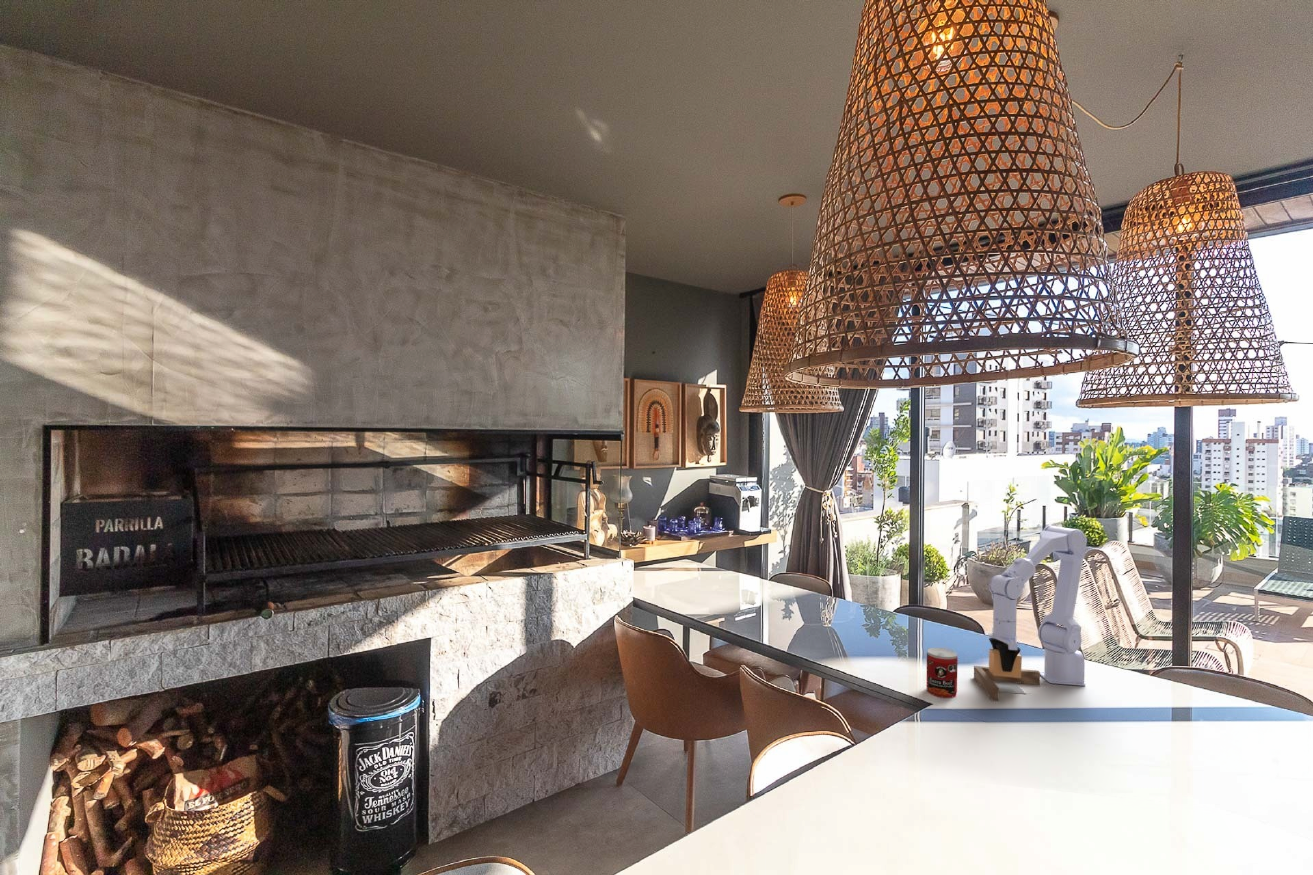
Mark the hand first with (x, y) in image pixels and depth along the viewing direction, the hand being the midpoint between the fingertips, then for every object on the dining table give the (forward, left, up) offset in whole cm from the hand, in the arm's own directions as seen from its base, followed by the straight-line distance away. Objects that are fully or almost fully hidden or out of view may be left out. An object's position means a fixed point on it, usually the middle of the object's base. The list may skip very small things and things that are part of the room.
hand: (1003, 668), depth 183 cm
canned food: (+18, +7, -6) cm, 20 cm away
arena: (-3, +2, -6) cm, 7 cm away
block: (0, 0, -2) cm, 2 cm away
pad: (0, -1, -6) cm, 6 cm away
